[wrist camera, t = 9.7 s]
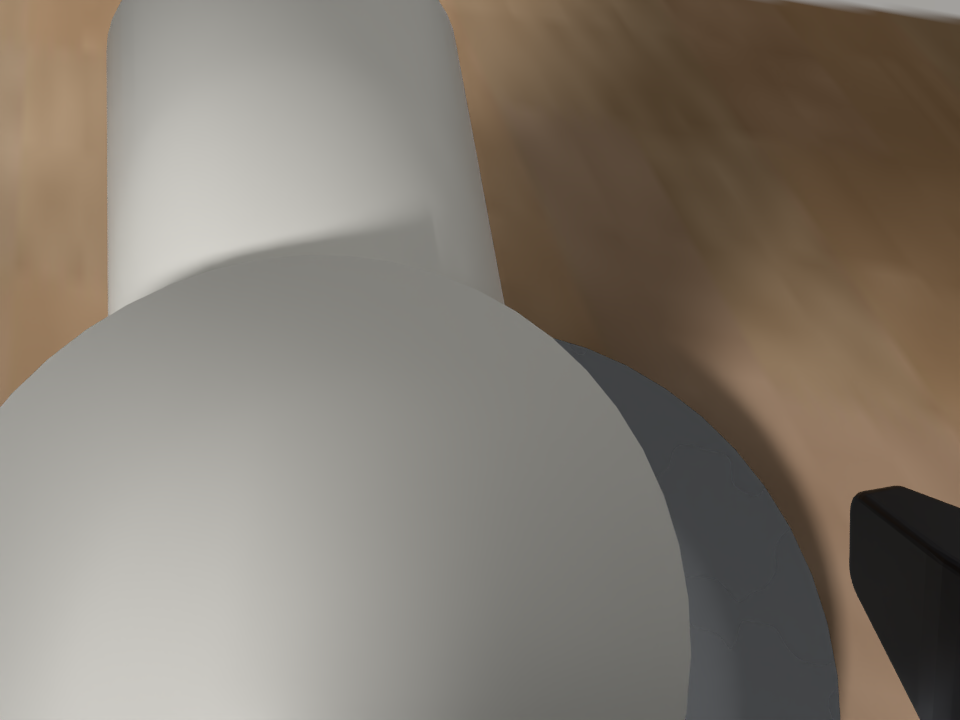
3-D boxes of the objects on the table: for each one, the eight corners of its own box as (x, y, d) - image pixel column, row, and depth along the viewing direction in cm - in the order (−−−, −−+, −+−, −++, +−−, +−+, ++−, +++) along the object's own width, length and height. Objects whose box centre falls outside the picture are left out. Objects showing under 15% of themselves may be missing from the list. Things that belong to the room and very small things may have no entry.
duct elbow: (594, 788, 16) (792, 1018, 4) (347, 831, 16) (-160, 1188, 4) (521, 398, 18) (516, -131, 7) (311, 432, 18) (-57, -41, 7)
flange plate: (929, 545, 18) (955, 534, 17) (609, 1318, 14) (615, 1369, 13) (357, 248, 21) (348, 223, 20) (-40, 811, 17) (-79, 818, 16)
